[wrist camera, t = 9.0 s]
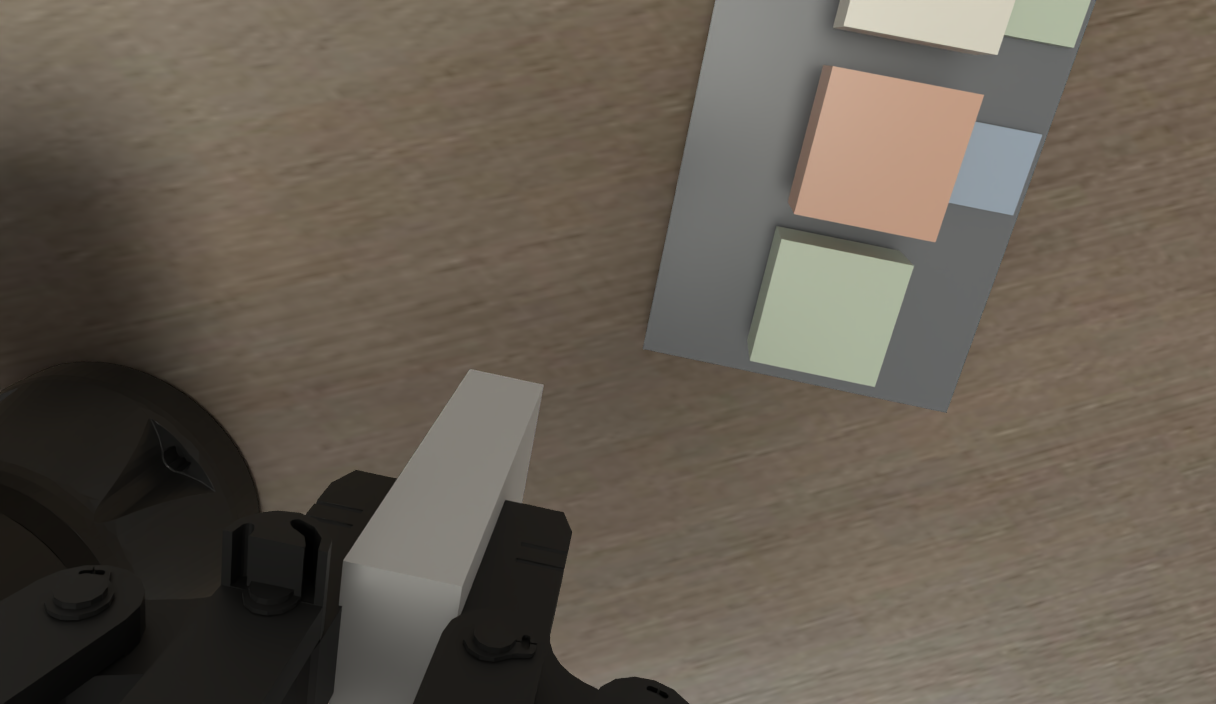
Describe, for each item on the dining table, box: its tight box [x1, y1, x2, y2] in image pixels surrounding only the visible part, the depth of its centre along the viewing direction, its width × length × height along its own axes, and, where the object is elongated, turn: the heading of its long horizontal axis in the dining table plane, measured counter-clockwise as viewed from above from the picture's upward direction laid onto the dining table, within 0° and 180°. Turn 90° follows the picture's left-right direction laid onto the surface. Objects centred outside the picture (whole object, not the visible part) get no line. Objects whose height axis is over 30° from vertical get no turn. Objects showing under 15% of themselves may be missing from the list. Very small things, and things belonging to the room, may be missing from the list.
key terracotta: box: [788, 65, 984, 242], centre depth 29 cm, size 5×5×5 cm
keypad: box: [643, 0, 1096, 412], centre depth 31 cm, size 26×13×3 cm, turn 170°
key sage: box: [747, 226, 914, 387], centre depth 33 cm, size 5×5×5 cm
